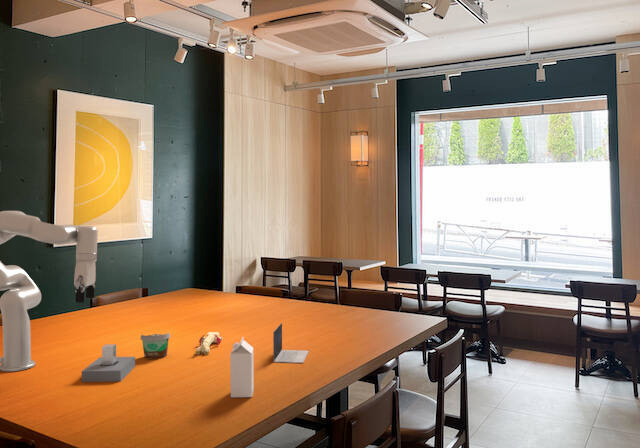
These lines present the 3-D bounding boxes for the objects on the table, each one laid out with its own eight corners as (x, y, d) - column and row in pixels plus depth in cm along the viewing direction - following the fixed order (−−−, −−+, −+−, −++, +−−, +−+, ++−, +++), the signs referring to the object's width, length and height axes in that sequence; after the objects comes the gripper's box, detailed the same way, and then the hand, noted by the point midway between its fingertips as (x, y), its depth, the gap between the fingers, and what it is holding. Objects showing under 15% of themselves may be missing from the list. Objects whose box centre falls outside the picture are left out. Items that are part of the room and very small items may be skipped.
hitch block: (81, 382, 192) (81, 371, 192) (99, 367, 210) (99, 357, 210) (120, 381, 193) (120, 370, 192) (135, 366, 210) (135, 356, 210)
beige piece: (213, 358, 227) (225, 339, 252) (212, 338, 226) (224, 321, 251) (190, 358, 227) (204, 338, 252) (190, 338, 226) (204, 321, 251)
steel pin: (102, 375, 199) (102, 347, 199) (106, 372, 203) (105, 344, 203) (113, 375, 199) (112, 346, 199) (116, 372, 203) (116, 344, 203)
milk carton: (253, 390, 183) (253, 336, 182) (251, 397, 176) (251, 341, 175) (233, 390, 183) (233, 336, 182) (230, 398, 176) (230, 341, 175)
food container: (139, 361, 218) (139, 337, 218) (140, 356, 224) (140, 333, 224) (170, 358, 221) (170, 335, 221) (170, 354, 227) (170, 331, 227)
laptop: (303, 364, 214) (303, 332, 214) (273, 363, 216) (272, 332, 215) (308, 352, 232) (308, 323, 232) (281, 351, 234) (281, 322, 233)
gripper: (85, 254, 216) (84, 296, 216) (67, 259, 199) (65, 303, 199) (104, 255, 216) (103, 296, 217) (87, 260, 199) (85, 304, 199)
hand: (85, 300), depth 208 cm, fingers open, 9 cm apart
